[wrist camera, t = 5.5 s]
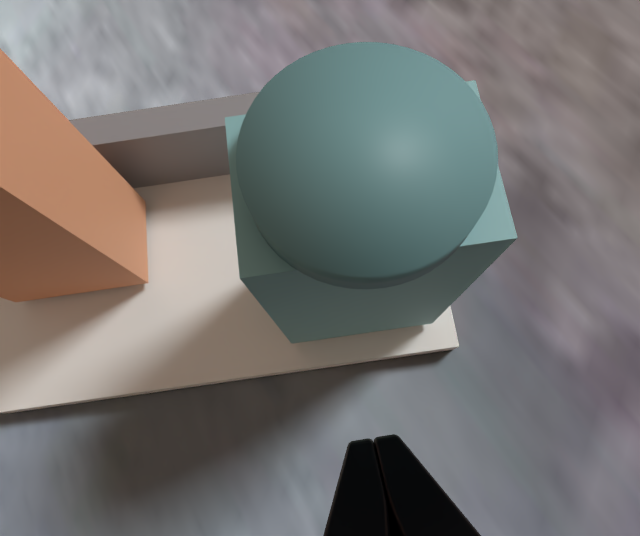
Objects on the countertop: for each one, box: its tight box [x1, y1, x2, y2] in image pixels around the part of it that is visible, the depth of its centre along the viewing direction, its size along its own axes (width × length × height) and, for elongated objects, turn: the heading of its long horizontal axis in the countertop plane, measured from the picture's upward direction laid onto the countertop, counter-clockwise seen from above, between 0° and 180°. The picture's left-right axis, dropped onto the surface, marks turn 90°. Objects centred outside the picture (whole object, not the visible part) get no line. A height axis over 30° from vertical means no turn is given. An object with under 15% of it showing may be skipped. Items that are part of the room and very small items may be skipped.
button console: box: [0, 92, 459, 413], centre depth 16 cm, size 8×15×4 cm, turn 98°
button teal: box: [225, 42, 517, 344], centre depth 12 cm, size 4×4×9 cm
